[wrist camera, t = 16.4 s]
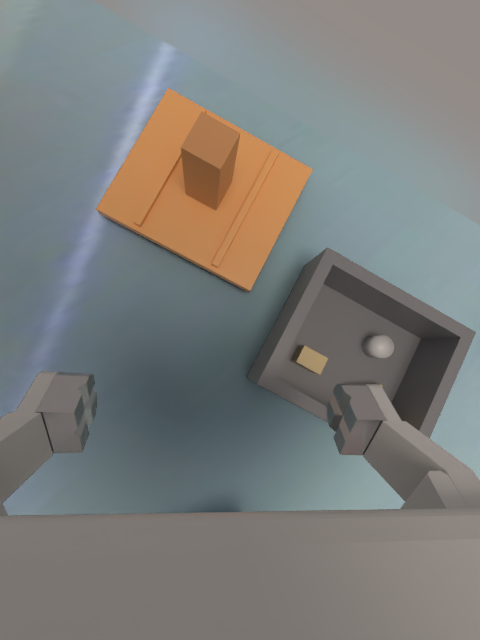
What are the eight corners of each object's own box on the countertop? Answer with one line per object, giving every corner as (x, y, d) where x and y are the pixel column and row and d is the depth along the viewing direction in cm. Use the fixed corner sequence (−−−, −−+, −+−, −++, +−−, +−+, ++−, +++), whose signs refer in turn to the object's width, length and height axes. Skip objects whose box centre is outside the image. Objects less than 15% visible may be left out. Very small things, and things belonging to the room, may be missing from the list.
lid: (104, 220, 31) (62, 164, 22) (170, 107, 33) (158, 10, 23) (246, 295, 32) (265, 273, 23) (304, 182, 34) (344, 118, 24)
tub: (246, 377, 31) (256, 384, 25) (304, 265, 33) (327, 247, 27) (376, 446, 32) (415, 469, 26) (427, 334, 33) (475, 332, 27)
